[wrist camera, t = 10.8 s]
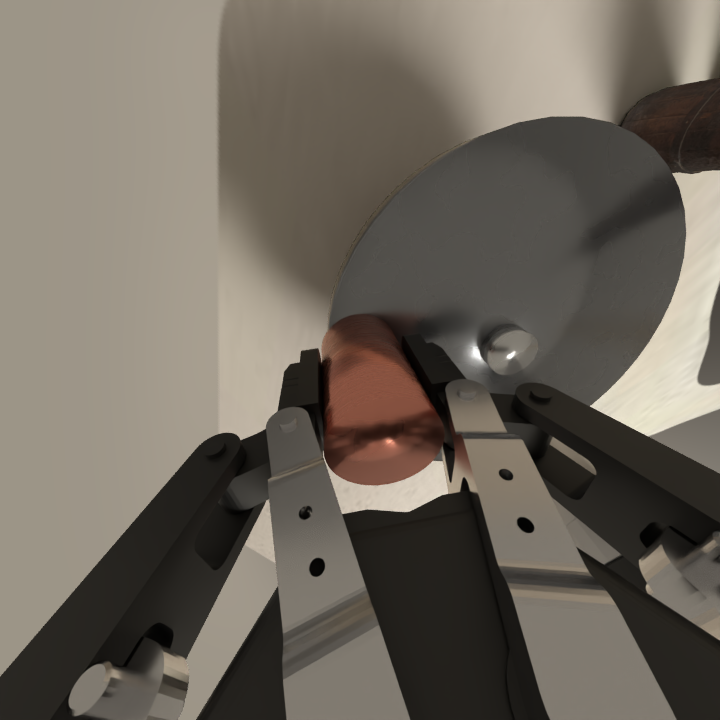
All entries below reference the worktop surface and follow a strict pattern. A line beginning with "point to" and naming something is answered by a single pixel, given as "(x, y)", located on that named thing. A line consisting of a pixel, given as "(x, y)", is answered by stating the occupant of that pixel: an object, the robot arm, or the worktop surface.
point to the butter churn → (681, 125)
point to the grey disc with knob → (499, 282)
